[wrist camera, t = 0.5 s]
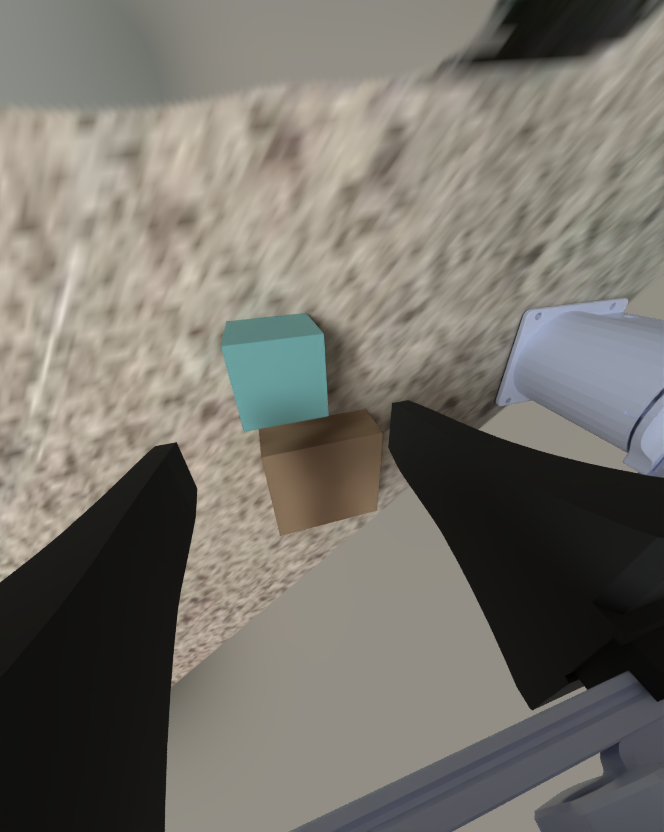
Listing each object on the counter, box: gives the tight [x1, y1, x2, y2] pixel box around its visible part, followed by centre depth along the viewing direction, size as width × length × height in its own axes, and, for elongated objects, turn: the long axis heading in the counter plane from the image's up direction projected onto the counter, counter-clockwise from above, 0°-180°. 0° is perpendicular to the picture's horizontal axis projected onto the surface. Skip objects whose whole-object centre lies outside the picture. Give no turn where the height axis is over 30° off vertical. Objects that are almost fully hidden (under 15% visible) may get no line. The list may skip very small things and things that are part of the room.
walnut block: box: [259, 409, 383, 536], centre depth 21 cm, size 8×8×4 cm
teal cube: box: [221, 313, 329, 432], centre depth 15 cm, size 4×4×4 cm
